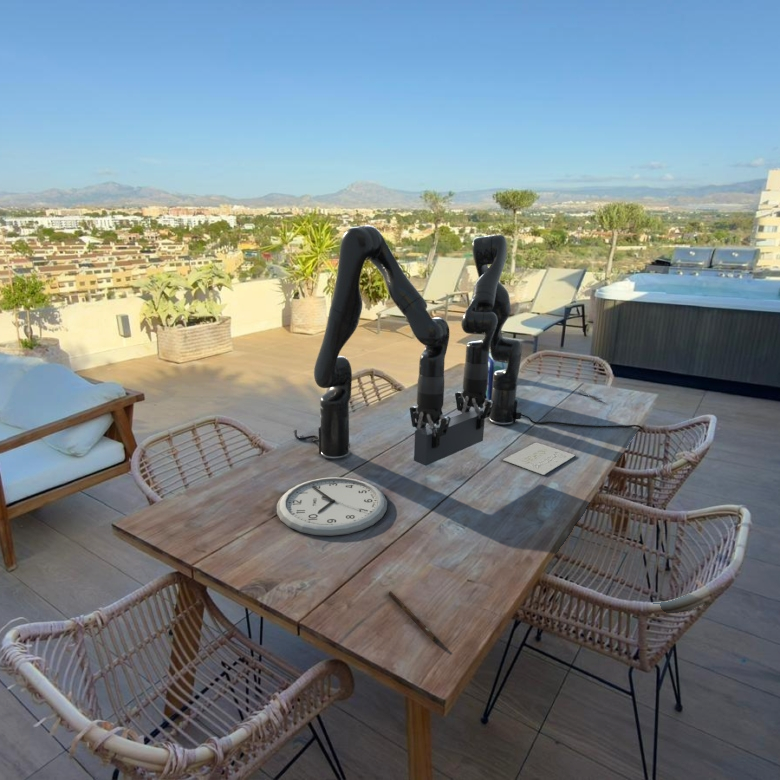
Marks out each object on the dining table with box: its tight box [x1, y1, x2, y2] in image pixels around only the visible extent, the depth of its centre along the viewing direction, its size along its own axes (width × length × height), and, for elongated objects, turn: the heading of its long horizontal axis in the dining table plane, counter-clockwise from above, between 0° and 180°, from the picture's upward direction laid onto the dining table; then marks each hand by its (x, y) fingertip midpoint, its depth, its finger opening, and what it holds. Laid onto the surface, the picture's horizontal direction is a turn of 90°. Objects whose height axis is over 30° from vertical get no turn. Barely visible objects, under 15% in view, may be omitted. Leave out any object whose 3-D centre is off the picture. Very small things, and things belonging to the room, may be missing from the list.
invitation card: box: [502, 442, 577, 476], centre depth 174 cm, size 21×1×15 cm
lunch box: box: [486, 351, 508, 401], centre depth 230 cm, size 26×11×21 cm, turn 179°
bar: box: [413, 409, 486, 467], centre depth 160 cm, size 28×5×10 cm, turn 134°
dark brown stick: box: [388, 590, 436, 642], centre depth 102 cm, size 15×1×1 cm, turn 34°
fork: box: [579, 387, 603, 403], centre depth 238 cm, size 3×16×2 cm, turn 15°
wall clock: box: [276, 476, 388, 537], centre depth 142 cm, size 30×2×30 cm
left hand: (428, 444), depth 152 cm, fingers closed on bar, 4 cm apart
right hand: (472, 426), depth 167 cm, fingers closed on bar, 4 cm apart
